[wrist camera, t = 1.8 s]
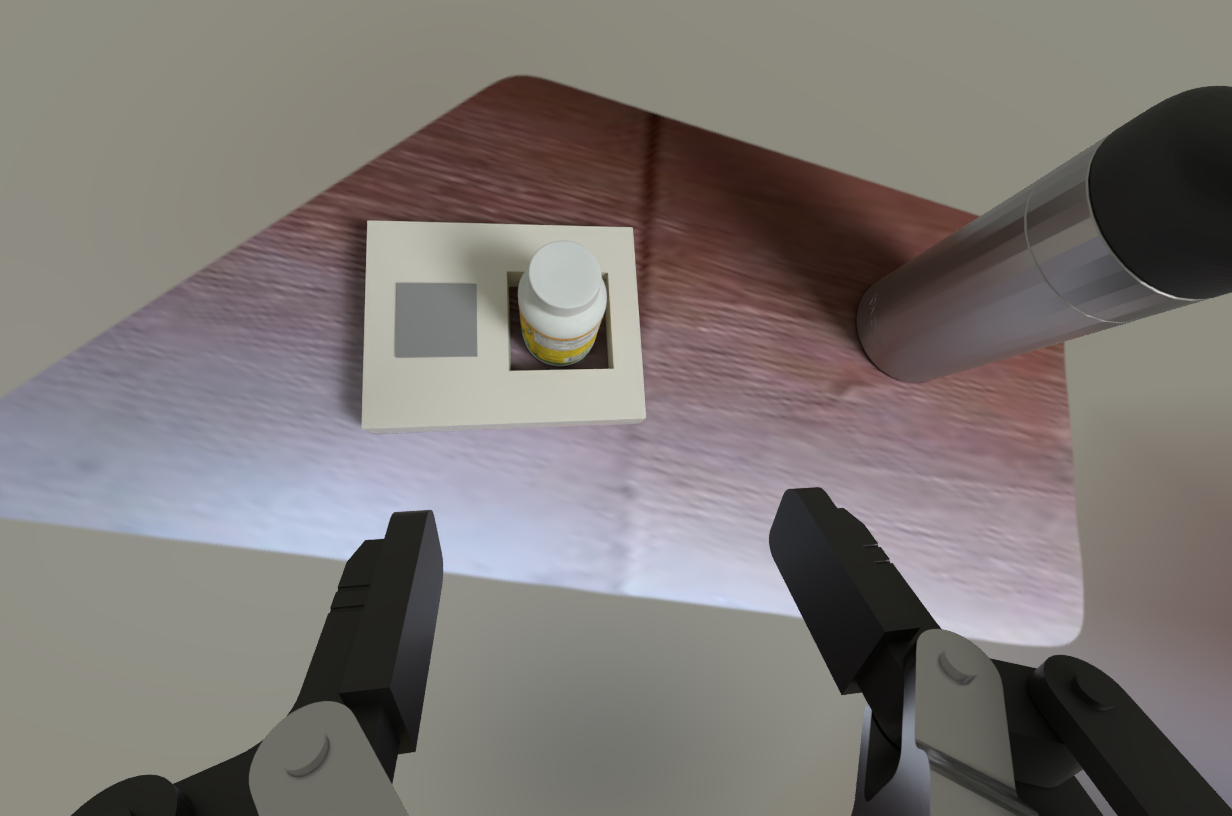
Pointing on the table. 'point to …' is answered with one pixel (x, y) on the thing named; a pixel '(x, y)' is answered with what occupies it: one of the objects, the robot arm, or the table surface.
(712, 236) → the table surface
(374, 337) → the socket dock
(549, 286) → the supplement bottle
